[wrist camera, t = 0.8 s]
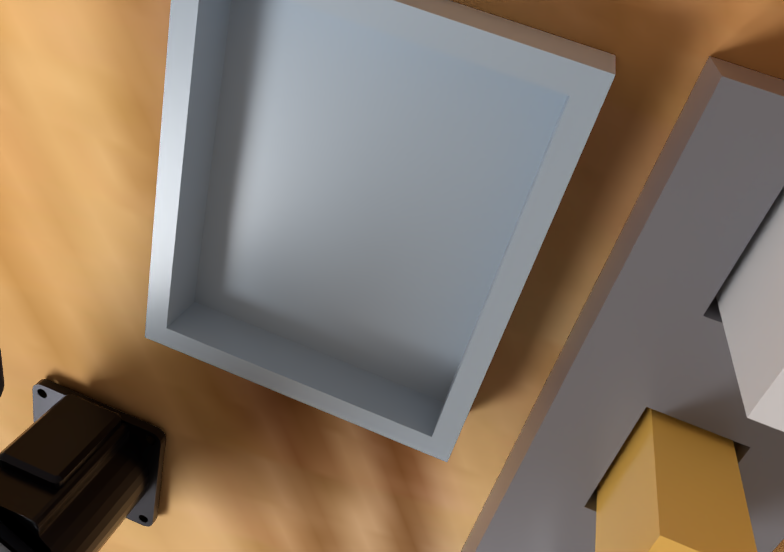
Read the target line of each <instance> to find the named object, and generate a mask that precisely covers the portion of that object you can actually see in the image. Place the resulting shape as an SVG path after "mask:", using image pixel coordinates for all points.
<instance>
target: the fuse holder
mask: <svg viewBox="0 0 784 552" xmlns="http://www.w3.org/2000/svg"><path fill="white" fill-rule="evenodd" d="M783 187H784V80H782V79H779V78H776V77H772V76H769V75H766V74H763V73H760V72H757V71H754V70H751V69H748V68H745V67H742V66H739V65H736V64H733V63H730V62H727V61H723V60H720V59H717V58H714V57H711V56H709V58H708V60H707V62H706V64H705V66H704V68H703V70H702V72H701V74H700V76H699V78H698V80H697V82H696V84H695V86H694V88H693V90H692V92H691V94H690V96H689V98H688V100H687V102H686V104H685V106H684V108H683V110H682V112H681V114H680V116H679V118H678V120H677V122H676V123H675V125H674V127H673V129H672V131H671V133H670V135H669V137H668V139H667V141H666V143H665V145H664V147H663V149H662V151H661V153H660V155H659V157H658V159H657V161H656V163H655V165H654V167H653V169H652V171H651V173H650V175H649V177H648V179H647V181H646V183H645V185H644V187H643V189H642V191H641V193H640V195H639V197H638V199H637V201H636V203H635V205H634V207H633V209H632V211H631V213H630V215H629V217H628V219H627V221H626V223H625V225H624V227H623V229H622V231H621V233H620V235H619V237H618V239H617V241H616V243H615V245H614V247H613V249H612V251H611V253H610V255H609V257H608V259H607V261H606V263H605V265H604V267H603V269H602V271H601V273H600V275H599V277H598V279H597V281H596V283H595V285H594V287H593V289H592V291H591V293H590V295H589V297H588V299H587V301H586V303H585V305H584V307H583V309H582V311H581V313H580V315H579V317H578V319H577V321H576V323H575V325H574V327H573V329H572V331H571V333H570V335H569V337H568V339H567V341H566V343H565V345H564V347H563V349H562V351H561V353H560V355H559V357H558V359H557V361H556V363H555V365H554V367H553V369H552V371H551V373H550V375H549V377H548V379H547V381H546V383H545V385H544V387H543V389H542V391H541V393H540V395H539V397H538V399H537V401H536V403H535V405H534V407H533V409H532V411H531V413H530V415H529V417H528V419H527V421H526V423H525V425H524V427H523V429H522V431H521V433H520V435H519V437H518V439H517V441H516V443H515V445H514V447H513V449H512V451H511V453H510V455H509V457H508V459H507V461H506V463H505V465H504V467H503V469H502V471H501V473H500V475H499V477H498V479H497V481H496V483H495V485H494V487H493V489H492V491H491V493H490V495H489V497H488V499H487V501H486V503H485V505H484V507H483V509H482V511H481V513H480V515H479V517H478V519H477V521H476V523H475V525H474V526H473V528H472V530H471V532H470V534H469V536H468V538H467V540H466V542H465V544H464V546H463V548H462V550H461V552H595V540H596V510H597V485H598V484H599V482H600V481H601V479H602V477H603V476H604V474H605V473H606V471H607V469H608V468H609V466H610V465H611V463H612V461H613V460H614V458H615V456H616V455H617V453H618V452H619V450H620V448H621V447H622V445H623V444H624V442H625V440H626V439H627V437H628V436H629V434H630V432H631V431H632V429H633V428H634V426H635V424H636V423H637V421H638V420H639V418H640V416H641V415H642V413H643V411H644V410H645V408H646V407H648V408H651V409H653V410H656V411H658V412H661V413H664V414H666V415H669V416H671V417H674V418H676V419H679V420H681V421H684V422H687V423H689V424H692V425H694V426H697V427H699V428H702V429H705V430H707V431H710V432H712V433H715V434H717V435H720V436H723V437H725V438H728V439H730V440H733V443H734V448H735V452H736V457H737V461H738V466H739V470H740V475H741V480H742V484H743V489H744V493H745V498H746V502H747V507H748V512H749V516H750V521H751V525H752V530H753V534H754V539H755V543H756V548H757V552H772V551H773V550H774V549H775V548H776V547H777V546H778V544H779V543H780V542H781V541H782V540H783V539H784V432H783V431H780V430H778V429H775V428H772V427H770V426H767V425H765V424H762V423H759V422H757V421H754V420H752V419H749V418H747V416H746V412H745V408H744V404H743V400H742V396H741V392H740V389H739V385H738V381H737V377H736V373H735V369H734V365H733V361H732V357H731V353H730V350H729V346H728V342H727V338H726V334H725V330H724V326H723V322H722V318H721V314H720V311H719V307H718V303H717V299H716V294H717V293H718V291H719V289H720V288H721V286H722V285H723V283H724V281H725V280H726V278H727V277H728V275H729V273H730V272H731V270H732V268H733V267H734V265H735V264H736V262H737V260H738V259H739V257H740V256H741V254H742V252H743V251H744V249H745V248H746V246H747V244H748V243H749V241H750V240H751V238H752V236H753V235H754V233H755V232H756V230H757V228H758V227H759V225H760V224H761V222H762V220H763V219H764V217H765V215H766V214H767V212H768V211H769V209H770V207H771V206H772V204H773V203H774V201H775V199H776V198H777V196H778V195H779V193H780V191H781V190H782V188H783Z"/></svg>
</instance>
